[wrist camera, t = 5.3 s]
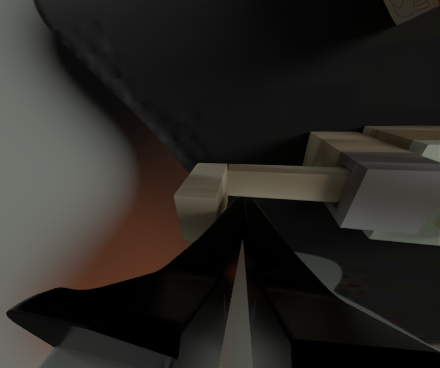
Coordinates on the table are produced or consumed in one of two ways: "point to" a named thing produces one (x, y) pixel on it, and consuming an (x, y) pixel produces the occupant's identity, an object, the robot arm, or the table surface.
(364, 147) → the toolbox
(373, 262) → the table surface
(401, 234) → the plate with block handle
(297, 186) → the wooden mallet
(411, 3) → the stack of blocks
